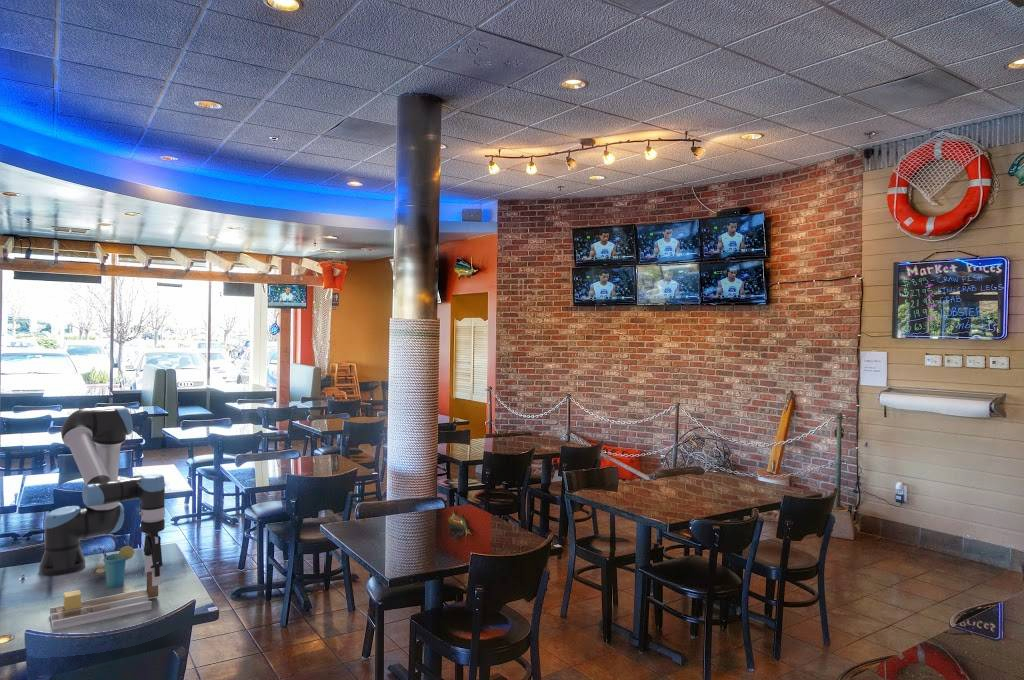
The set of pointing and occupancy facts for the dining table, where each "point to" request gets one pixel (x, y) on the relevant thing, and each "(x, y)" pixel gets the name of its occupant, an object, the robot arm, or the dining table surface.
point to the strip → (151, 592)
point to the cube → (72, 600)
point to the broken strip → (82, 612)
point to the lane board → (115, 610)
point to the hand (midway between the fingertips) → (152, 579)
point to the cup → (116, 566)
